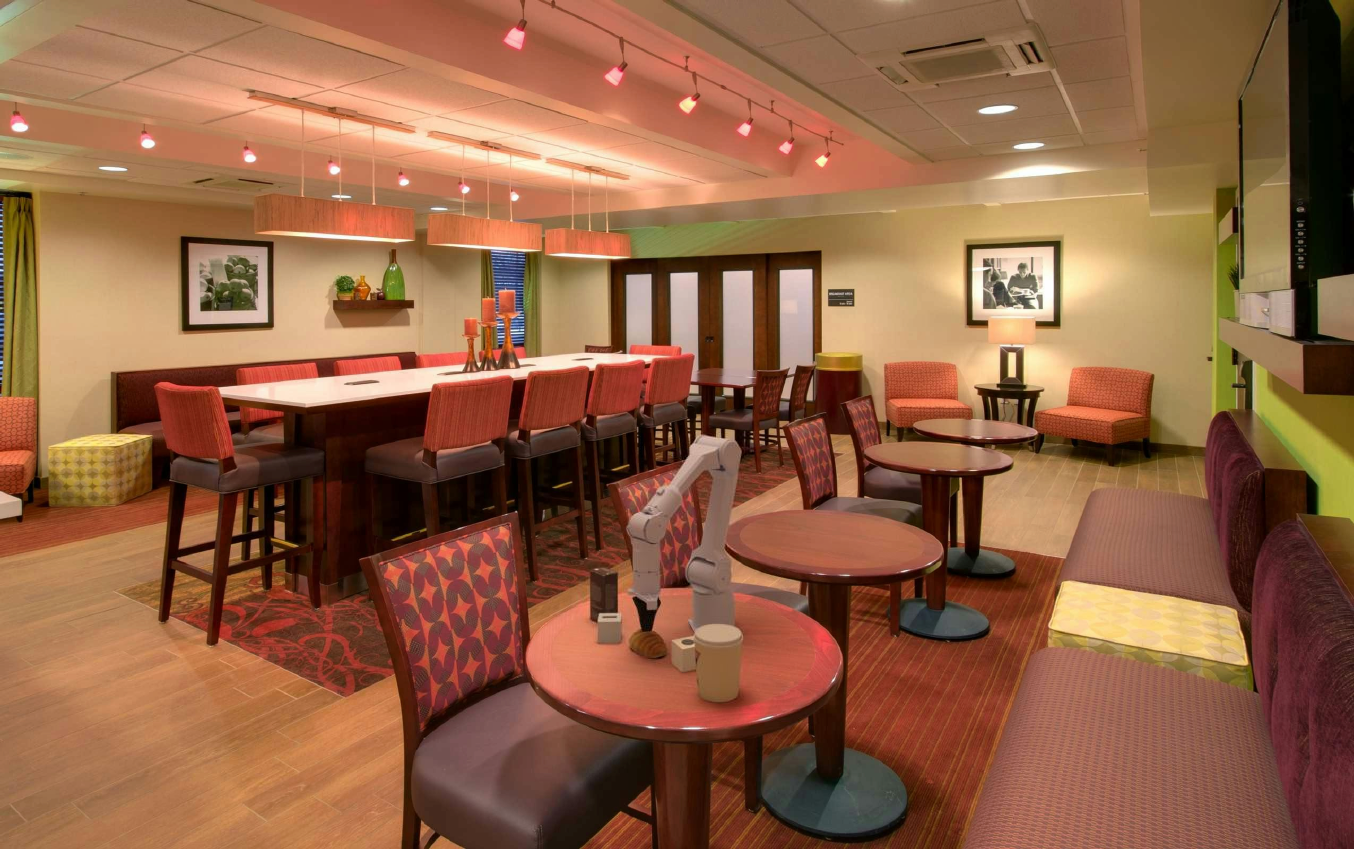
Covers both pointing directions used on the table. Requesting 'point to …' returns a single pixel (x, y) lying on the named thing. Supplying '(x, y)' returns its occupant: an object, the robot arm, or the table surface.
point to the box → (603, 592)
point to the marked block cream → (684, 654)
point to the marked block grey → (609, 628)
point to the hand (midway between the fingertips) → (646, 630)
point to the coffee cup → (718, 661)
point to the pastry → (648, 644)
